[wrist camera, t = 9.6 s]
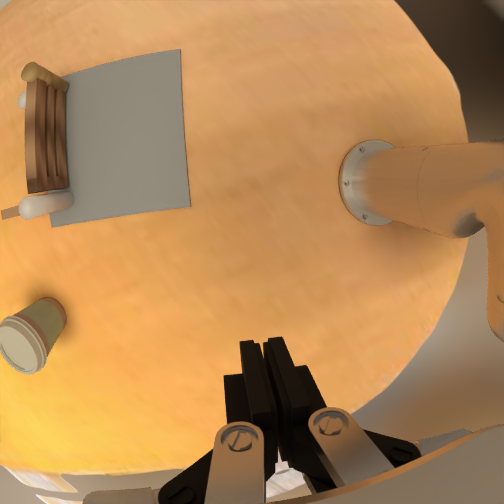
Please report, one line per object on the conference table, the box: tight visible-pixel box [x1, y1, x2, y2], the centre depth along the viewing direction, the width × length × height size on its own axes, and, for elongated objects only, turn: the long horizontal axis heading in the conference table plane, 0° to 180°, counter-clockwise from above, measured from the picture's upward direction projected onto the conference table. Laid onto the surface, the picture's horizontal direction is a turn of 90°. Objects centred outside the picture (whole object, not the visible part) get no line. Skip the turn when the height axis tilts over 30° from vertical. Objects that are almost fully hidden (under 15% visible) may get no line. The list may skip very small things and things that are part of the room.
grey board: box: [1, 49, 191, 227], centre depth 28 cm, size 24×22×11 cm
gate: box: [21, 62, 68, 194], centre depth 26 cm, size 16×2×9 cm, turn 4°
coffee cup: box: [0, 297, 66, 374], centre depth 32 cm, size 8×8×12 cm
